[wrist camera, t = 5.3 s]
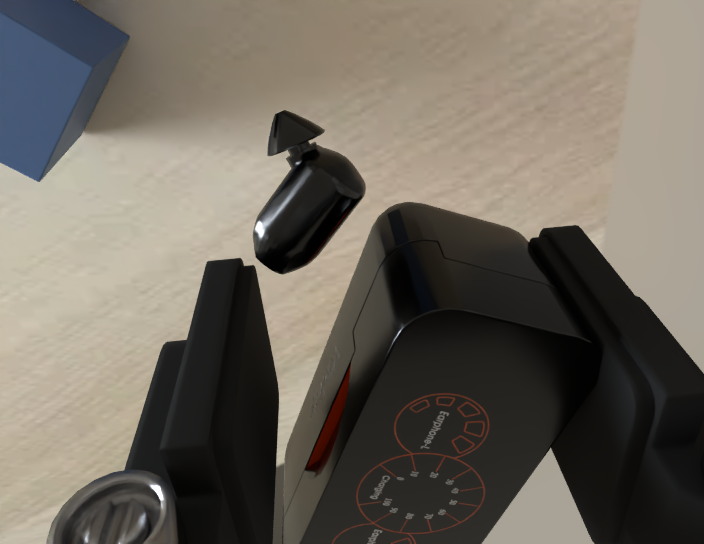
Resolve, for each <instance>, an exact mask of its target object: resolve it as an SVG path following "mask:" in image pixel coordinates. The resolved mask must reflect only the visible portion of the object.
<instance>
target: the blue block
mask: <svg viewBox="0 0 704 544" xmlns="http://www.w3.org/2000/svg"><path fill="white" fill-rule="evenodd" d="M128 40H129V36H128V35H127V34H125V33H124V32H122V31H121V30H119V29H117V28H116V27H114V26H113V25H111V24H110V23H108V22H106V21H105V20H103V19H102V18H100V17H98V16H97V15H95V14H94V13H92V12H91V11H89V10H87V9H86V8H84V7H83V6H81V5H80V4H78V3H76V2H75V1H73V0H0V163H2V164H4V165H6V166H8V167H10V168H12V169H14V170H16V171H18V172H20V173H22V174H24V175H26V176H28V177H30V178H32V179H34V180H36V181H38V182H40V181H41V180H42V179H43V177H44V176H45V175H46V174H47V173H48V172H49V171H50V170H51V168H52V167H53V166H54V165H55V164H56V163H57V162H58V161H59V159H60V158H61V157H62V156H63V155H64V154H65V153H66V152H67V150H68V149H69V148H70V147H71V146H72V145H73V144H74V143H75V141H76V140H77V139H78V138H79V137H80V136H81V135H82V133H83V131H84V129H85V127H86V125H87V123H88V121H89V119H90V116H91V114H92V112H93V110H94V108H95V106H96V104H97V102H98V100H99V98H100V96H101V94H102V92H103V90H104V88H105V86H106V84H107V82H108V80H109V78H110V76H111V74H112V72H113V70H114V68H115V66H116V64H117V62H118V60H119V58H120V56H121V54H122V52H123V50H124V48H125V46H126V44H127V42H128Z"/></svg>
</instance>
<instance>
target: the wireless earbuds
mask: <svg viewBox="0 0 704 544" xmlns="http://www.w3.org/2000/svg"><path fill="white" fill-rule="evenodd" d="M324 132H325V130H324V129H322V128H321V127H319V126H318V125H316V124H314V123H313V122H311V121H309V120H307V119H305V118H303V117H300V116H298V115H296V114H294V113H292V112H289V111H286V110H284V111H281V112H279V113H277V114H275V116H274V119H273V122H272V126H271V131H270V136H269V141H268V155H267V156H273V155H276V154H279V153H281V152H284V151H286V150H288V152H289V154H290V156H289V157H287V158H286V160H287V161H288V163H289V165H290V167H291V170H290V171H289V173H288V174H287V175H286V177H285V178H284V180H283V181H282V182H281V184H280V185H279V187H278V188H277V189H276V191H275V192H274V194H273V195H272V196H271V198H270V199H269V201H268V202H267V203H266V205H265V206H264V208H263V209H262V210H261V212H260V213H259V215H258V217H257V219H256V222H255V226H254V230H253V242H254V250H255V255H256V258H257V259H258V260H259V261H260V262H261V263H262V264H264V265H265V266H266V267H268V268H269V269H271V270H272V271H274V272H276V273H279V274H286V273H289V272H292V271H295V270H297V269H300V268H302V267H304V266H306V265H308V264H309V263H311V262H312V261H313V260H314V259H315V258H316V257H317V256H318V255H319V254H320V252H321V251H322V250H323V249H324V247H325V246H326V245H327V243H328V242H329V241H330V240H331V238H332V237H333V236H334V234H335V233H336V232H337V230H338V229H339V228H340V227H341V225H342V224H343V223H344V221H345V220H346V219H347V218H348V216H349V215H350V214H351V212H352V211H353V210H354V208H355V207H356V206H357V205H358V203H359V202H360V201H361V199H362V198H363V197H364V194H365V190H366V186H365V182H364V180H363V178H362V177H361V175H360V174H359V172H358V171H357V169H356V168H355V166H354V165H353V164H352V163H351V162H350V161H349V160H348V159H347V158H346V157H345V156H343V155H341V154H340V153H338V152H335V151H333V150H330V149H327V148H323V147H321V146H319V145H317V144H316V142H313V143H311V144H310V143H309V140H311V139H313V138H315V137H317V136H319V135H321V134H323V133H324ZM601 362H602V356H601V353H600V350H599V349H598V347H597V345H596V344H595V342H594V341H593V339H592V338H591V336H590V335H589V333H588V332H587V330H586V328H585V327H584V325H583V324H582V322H581V321H580V319H579V318H578V316H577V315H576V313H575V311H574V310H573V308H572V307H571V305H570V304H569V302H568V301H567V299H566V298H565V296H564V295H563V293H562V291H561V290H560V288H559V287H558V285H557V284H556V282H555V281H554V279H553V278H552V276H551V274H550V273H549V271H548V270H547V268H546V267H545V265H544V264H543V262H542V261H541V259H540V257H539V256H538V254H537V253H536V251H535V250H534V248H533V247H532V245H531V244H530V243H529V242H528V241H527V240H526V239H525V237H524V236H522V235H521V234H520V233H519V232H517V231H515V230H513V229H511V228H509V227H505V226H502V225H498V224H495V223H491V222H487V221H484V220H480V219H476V218H473V217H469V216H466V215H462V214H458V213H455V212H451V211H448V210H444V209H440V208H437V207H433V206H429V205H426V204H422V203H414V202H404V203H399V204H395V205H393V206H391V207H389V208H388V209H387V210H386V211H384V212H383V213H382V214H381V215H380V216H379V217H378V218H377V220H376V222H375V223H374V225H373V226H372V229H371V231H370V234H369V236H368V239H367V241H366V244H365V247H364V249H363V252H362V254H361V257H360V259H359V262H358V264H357V267H356V270H355V272H354V275H353V277H352V280H351V282H350V285H349V288H348V290H347V293H346V295H345V298H344V300H343V303H342V305H341V308H340V311H339V313H338V316H337V318H336V321H335V323H334V326H333V328H332V331H331V334H330V336H329V339H328V341H327V344H326V346H325V349H324V352H323V354H322V357H321V359H320V362H319V364H318V367H317V369H316V372H315V375H314V377H313V380H312V382H311V385H310V387H309V390H308V393H307V395H306V398H305V400H304V403H303V405H302V408H301V410H300V413H299V416H298V418H297V421H296V423H295V426H294V428H293V431H292V434H291V436H290V439H289V441H288V444H287V448H286V453H285V466H284V468H285V469H284V501H283V535H282V544H482V542H483V541H484V539H485V538H486V537H487V535H488V534H489V533H490V531H491V530H492V528H493V527H494V526H495V524H496V523H497V521H498V520H499V519H500V517H501V516H502V514H503V513H504V512H505V510H506V509H507V508H508V506H509V505H510V503H511V502H512V500H513V499H514V498H515V496H516V495H517V494H518V492H519V491H520V489H521V488H522V487H523V485H524V484H525V483H526V481H527V480H528V478H529V477H530V476H531V474H532V473H533V471H534V470H535V469H536V467H537V466H538V465H539V463H540V462H541V460H542V459H543V458H544V456H545V455H546V453H547V452H548V451H549V449H550V448H551V447H552V445H553V444H554V442H555V441H556V440H557V438H558V437H559V435H560V434H561V433H562V431H563V430H564V429H565V427H566V426H567V424H568V423H569V422H570V420H571V419H572V417H573V416H574V415H575V413H576V412H577V410H578V409H579V408H580V406H581V405H582V404H583V402H584V401H585V399H586V398H587V397H588V395H589V394H590V392H591V391H592V390H593V388H594V387H595V386H596V384H597V381H598V377H599V372H600V367H601Z"/></svg>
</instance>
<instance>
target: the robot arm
mask: <svg viewBox="0 0 704 544" xmlns="http://www.w3.org/2000/svg"><path fill="white" fill-rule="evenodd" d="M529 243H530V244H531V245H532V247H533V248H534V250H535V251H536V253H537V254H538V256H539V257H540V259H541V261H542V262H543V264H544V265H545V267H546V268H547V270H548V271H549V273H550V274H551V276H552V278H553V279H554V281H555V282H556V284H557V285H558V287H559V288H560V290H561V291H562V293H563V295H564V296H565V298H566V299H567V301H568V302H569V304H570V305H571V307H572V308H573V310H574V311H575V313H576V315H577V316H578V318H579V319H580V321H581V322H582V324H583V325H584V327H585V328H586V330H587V332H588V333H589V335H590V336H591V338H592V339H593V341H594V342H595V344H596V345H597V347H598V349H599V350H600V353H601V356H602V362H601V367H600V372H599V377H598V381H597V384H596V386H595V387H594V388H593V390H592V391H591V392H590V394H589V395H588V397H587V398H586V399H585V401H584V402H583V404H582V405H581V406H580V408H579V409H578V410H577V412H576V413H575V415H574V416H573V417H572V419H571V420H570V422H569V423H568V424H567V426H566V427H565V429H564V430H563V431H562V433H561V434H560V435H559V437H558V438H557V440H556V441H555V442H554V444H553V445H552V447H551V449H552V451H553V453H554V455H555V458H556V460H557V462H558V465H559V467H560V469H561V471H562V474H563V476H564V478H565V481H566V482H567V485H568V487H569V490H570V492H571V494H572V497H573V499H574V501H575V503H576V505H577V508H578V510H579V512H580V515H581V517H582V519H583V521H584V524H585V526H586V528H587V531H588V533H589V535H590V537H591V539H592V541H593V542H594V543H595V544H704V374H703V372H702V371H701V370H700V369H699V367H698V366H697V365H696V364H695V363H694V361H693V360H692V359H691V358H690V356H689V355H688V354H687V353H686V351H685V350H684V349H683V348H682V347H681V345H680V344H679V343H678V342H677V341H676V339H675V338H674V337H673V336H672V334H671V333H670V332H669V331H668V329H667V328H666V327H665V326H664V325H663V323H662V322H661V321H660V320H659V318H658V317H657V316H656V315H655V314H654V312H653V311H652V310H651V309H650V307H649V306H648V305H647V304H646V303H645V302H644V301H643V300H642V299H641V298H640V297H637V296H635V295H634V294H633V292H632V291H631V290H630V289H629V288H628V286H627V285H626V284H625V282H624V281H623V280H622V279H621V278H620V276H619V275H618V274H617V273H616V271H615V270H614V269H613V268H612V266H611V265H610V264H609V263H608V262H607V260H606V259H605V258H604V256H603V255H602V254H601V253H600V251H599V250H598V249H597V248H596V246H595V245H594V244H593V243H592V242H591V240H590V239H589V238H588V237H587V235H586V234H585V233H584V232H583V230H582V229H581V228H580V227H579V226H576V225H573V226H563V227H553V228H544V229H542V230H541V232H540V235H539V237H537V238H532V239H531V240H530V242H529ZM278 411H279V391H278V382H277V377H276V371H275V366H274V361H273V356H272V351H271V345H270V340H269V335H268V330H267V325H266V319H265V314H264V309H263V304H262V299H261V293H260V288H259V283H258V278H257V273H256V269H255V266H254V265H251V266H244V264H243V261H242V259H241V258H236V259H226V260H215V261H208V262H207V264H206V267H205V271H204V275H203V279H202V283H201V287H200V291H199V294H198V298H197V302H196V306H195V310H194V314H193V318H192V322H191V326H190V330H189V334H188V338H187V340H181V341H171V342H166V343H165V344H164V345H163V347H162V349H161V352H160V355H159V358H158V362H157V365H156V368H155V371H154V375H153V378H152V381H151V385H150V388H149V391H148V394H147V398H146V401H145V404H144V408H143V411H142V414H141V417H140V421H139V424H138V427H137V431H136V434H135V437H134V440H133V444H132V447H131V450H130V453H129V457H128V460H127V463H126V467H125V470H124V471H118V472H113V473H110V474H108V475H106V476H103V477H101V478H98V479H96V480H94V481H92V482H91V483H89V484H88V485H86V486H85V487H83V488H82V489H80V490H79V491H77V492H76V493H75V494H74V495H73V496H72V497H71V498H70V499H69V500H68V501H67V502H66V503H65V504H64V505H63V506H62V508H61V509H60V511H59V513H58V514H57V516H56V517H55V519H54V520H53V522H52V525H51V528H50V531H49V535H48V538H47V543H46V544H272V541H273V520H274V498H275V475H276V454H277V433H278Z"/></svg>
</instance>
